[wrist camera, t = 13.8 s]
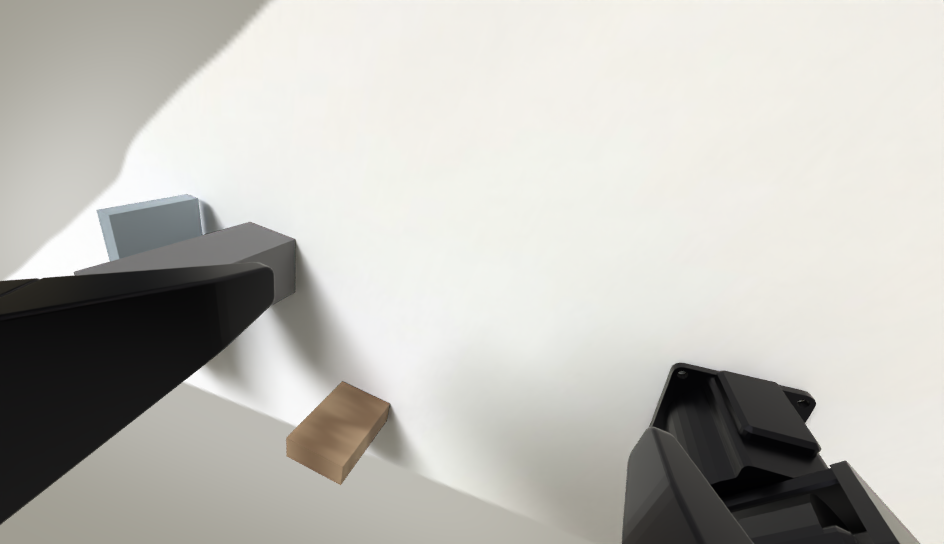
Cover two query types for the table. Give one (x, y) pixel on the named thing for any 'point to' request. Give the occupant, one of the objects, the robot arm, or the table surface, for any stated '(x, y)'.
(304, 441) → the wooden blocks
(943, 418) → the table surface
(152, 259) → the tall gray pillar
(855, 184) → the table surface
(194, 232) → the door
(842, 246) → the table surface
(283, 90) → the table surface
